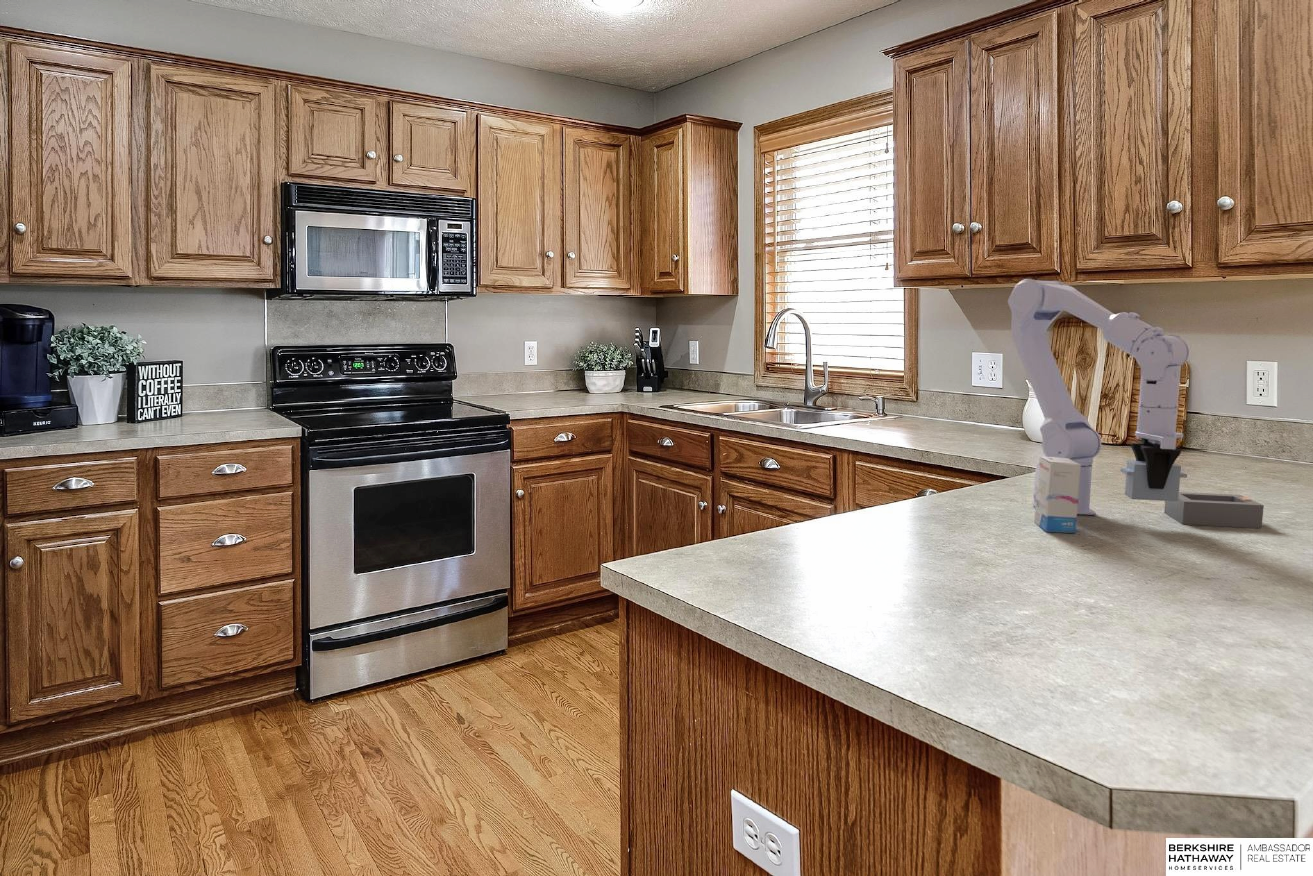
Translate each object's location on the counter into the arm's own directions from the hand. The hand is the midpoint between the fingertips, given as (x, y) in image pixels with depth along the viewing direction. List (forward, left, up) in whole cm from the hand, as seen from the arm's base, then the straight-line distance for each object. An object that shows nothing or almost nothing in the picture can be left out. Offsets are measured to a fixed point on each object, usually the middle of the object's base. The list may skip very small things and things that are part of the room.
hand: (1151, 485), depth 145 cm
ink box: (-16, -6, -7) cm, 18 cm away
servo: (0, 0, -2) cm, 2 cm away
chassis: (+12, +8, -7) cm, 16 cm away
